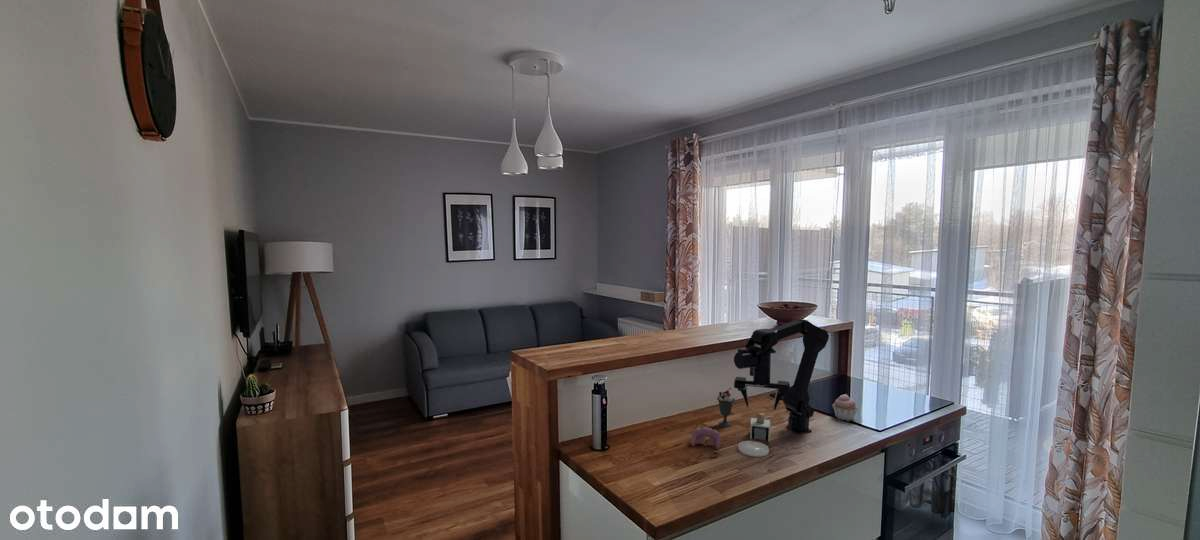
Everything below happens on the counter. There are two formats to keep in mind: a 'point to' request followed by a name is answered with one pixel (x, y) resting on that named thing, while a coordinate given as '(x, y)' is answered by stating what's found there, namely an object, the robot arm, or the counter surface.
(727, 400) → the sundae
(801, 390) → the robot arm
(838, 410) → the cupcake
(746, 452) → the saucer
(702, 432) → the video game controller
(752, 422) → the sage camera
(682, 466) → the counter surface
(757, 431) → the slate cube
